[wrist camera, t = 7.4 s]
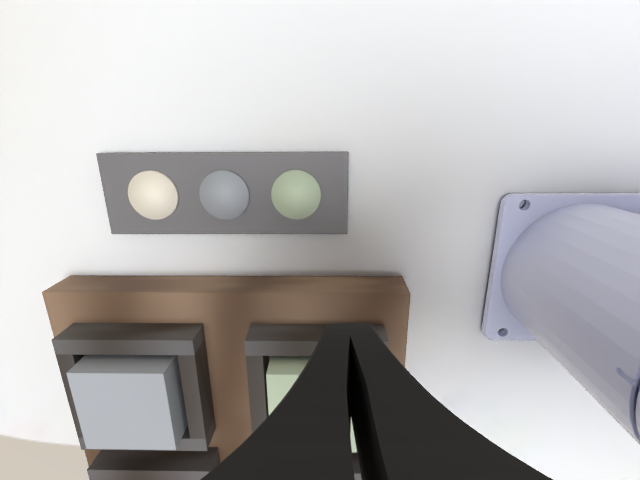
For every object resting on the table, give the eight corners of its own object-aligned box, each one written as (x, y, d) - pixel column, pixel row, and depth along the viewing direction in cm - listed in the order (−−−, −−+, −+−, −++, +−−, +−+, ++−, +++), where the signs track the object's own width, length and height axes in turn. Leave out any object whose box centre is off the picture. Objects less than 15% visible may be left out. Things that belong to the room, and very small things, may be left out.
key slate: (183, 342, 18) (163, 373, 16) (193, 412, 19) (176, 450, 17) (98, 342, 18) (66, 372, 16) (114, 411, 20) (86, 448, 17)
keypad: (402, 276, 19) (418, 308, 16) (385, 517, 24) (394, 579, 21) (70, 275, 19) (16, 306, 16) (126, 513, 25) (95, 573, 22)
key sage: (360, 343, 18) (365, 375, 16) (358, 413, 19) (362, 452, 17) (273, 343, 18) (266, 374, 16) (277, 412, 19) (270, 451, 17)
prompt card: (347, 151, 17) (348, 152, 17) (346, 231, 18) (347, 234, 18) (101, 153, 17) (93, 154, 17) (116, 231, 19) (109, 235, 18)
